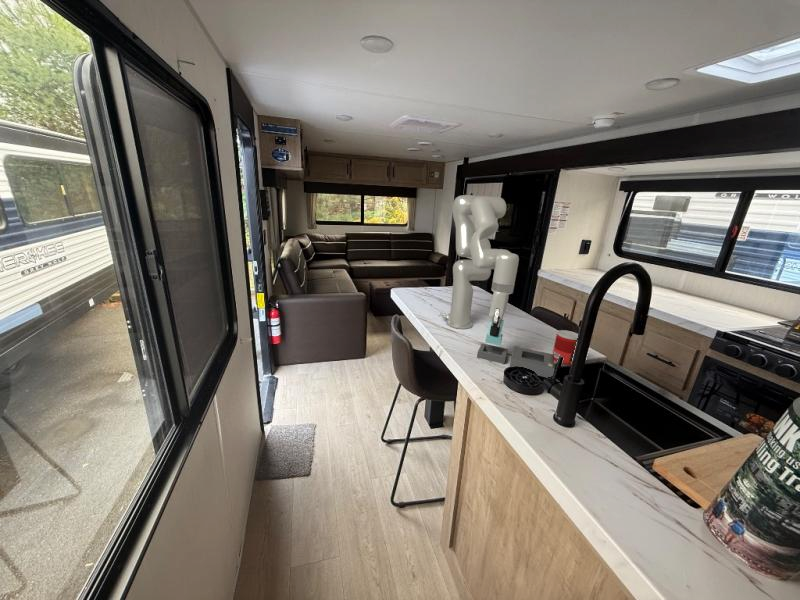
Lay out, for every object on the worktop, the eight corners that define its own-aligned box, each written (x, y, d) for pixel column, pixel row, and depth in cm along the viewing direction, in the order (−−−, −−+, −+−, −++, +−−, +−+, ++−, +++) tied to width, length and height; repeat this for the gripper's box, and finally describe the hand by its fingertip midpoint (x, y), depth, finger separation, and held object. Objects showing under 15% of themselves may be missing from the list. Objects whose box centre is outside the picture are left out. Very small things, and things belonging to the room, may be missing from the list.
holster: (476, 357, 116) (477, 351, 116) (481, 348, 124) (482, 343, 123) (504, 364, 112) (505, 357, 112) (507, 354, 120) (507, 348, 119)
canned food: (574, 367, 113) (580, 339, 110) (550, 361, 117) (556, 334, 114) (575, 359, 119) (581, 333, 116) (552, 353, 123) (558, 328, 120)
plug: (485, 342, 117) (488, 320, 114) (487, 338, 120) (490, 316, 117) (500, 345, 114) (503, 323, 112) (501, 341, 118) (505, 319, 115)
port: (509, 368, 109) (511, 356, 108) (512, 355, 120) (514, 344, 119) (552, 379, 104) (555, 366, 103) (551, 364, 114) (554, 353, 113)
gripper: (495, 281, 119) (488, 324, 125) (488, 290, 105) (480, 339, 111) (515, 284, 116) (507, 328, 122) (511, 294, 102) (502, 344, 108)
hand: (494, 333), depth 116 cm, fingers closed on plug, 3 cm apart
